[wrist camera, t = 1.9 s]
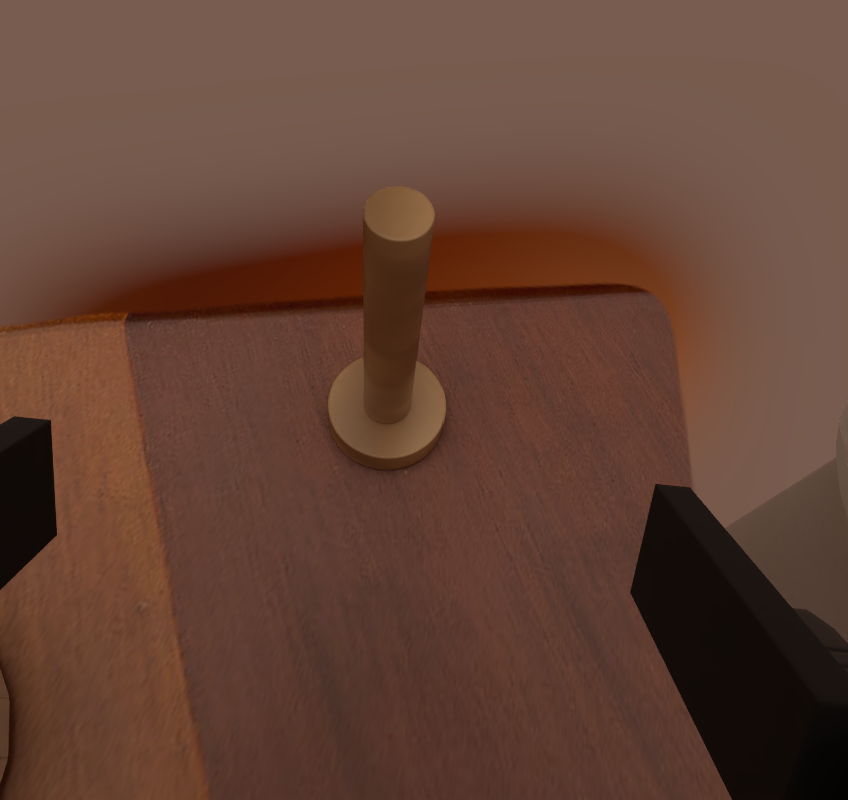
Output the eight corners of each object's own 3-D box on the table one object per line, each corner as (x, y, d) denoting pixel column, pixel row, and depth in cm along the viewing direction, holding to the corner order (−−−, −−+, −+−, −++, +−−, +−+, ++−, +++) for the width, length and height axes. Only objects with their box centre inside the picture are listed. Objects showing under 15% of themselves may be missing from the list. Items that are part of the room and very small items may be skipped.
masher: (447, 373, 36) (493, 156, 23) (439, 476, 33) (486, 297, 20) (337, 361, 35) (321, 136, 22) (320, 463, 33) (292, 275, 20)
